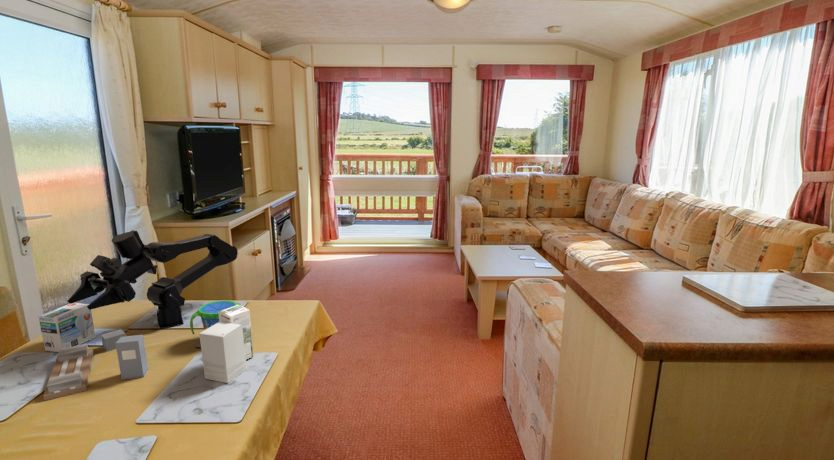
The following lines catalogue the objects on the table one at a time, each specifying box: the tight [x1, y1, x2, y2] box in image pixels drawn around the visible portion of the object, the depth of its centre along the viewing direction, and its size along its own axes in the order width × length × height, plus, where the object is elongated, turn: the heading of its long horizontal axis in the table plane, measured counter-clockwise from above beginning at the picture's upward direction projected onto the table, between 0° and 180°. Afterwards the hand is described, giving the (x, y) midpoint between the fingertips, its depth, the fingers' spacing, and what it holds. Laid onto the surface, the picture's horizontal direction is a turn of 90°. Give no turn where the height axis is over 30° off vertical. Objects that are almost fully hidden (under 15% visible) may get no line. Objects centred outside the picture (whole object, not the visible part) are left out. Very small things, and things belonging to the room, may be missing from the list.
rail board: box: [43, 343, 95, 401], centre depth 114 cm, size 22×8×3 cm, turn 32°
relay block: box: [100, 328, 126, 353], centre depth 128 cm, size 5×4×4 cm
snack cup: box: [189, 300, 244, 335], centre depth 132 cm, size 16×10×10 cm
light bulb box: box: [38, 302, 96, 353], centre depth 129 cm, size 11×7×11 cm, turn 168°
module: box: [115, 334, 149, 380], centre depth 113 cm, size 4×5×10 cm
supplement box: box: [198, 322, 248, 384], centre depth 113 cm, size 7×7×13 cm
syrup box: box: [218, 304, 254, 361], centre depth 120 cm, size 6×6×14 cm
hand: (78, 305), depth 119 cm, fingers open, 9 cm apart
